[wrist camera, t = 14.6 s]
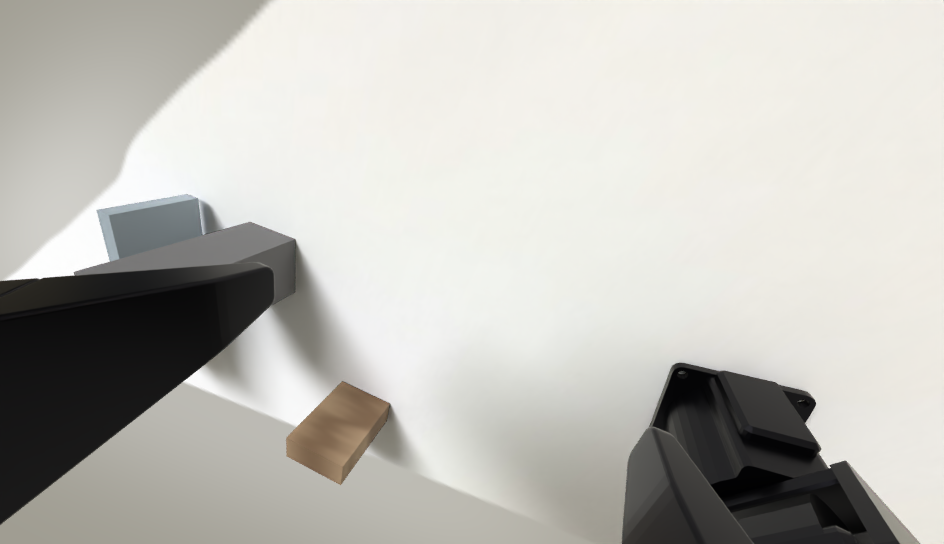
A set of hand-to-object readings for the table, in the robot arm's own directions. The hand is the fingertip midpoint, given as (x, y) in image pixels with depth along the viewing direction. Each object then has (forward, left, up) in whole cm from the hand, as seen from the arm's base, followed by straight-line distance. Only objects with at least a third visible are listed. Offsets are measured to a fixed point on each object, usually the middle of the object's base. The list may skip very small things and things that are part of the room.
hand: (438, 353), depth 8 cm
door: (-9, +27, -13) cm, 31 cm away
